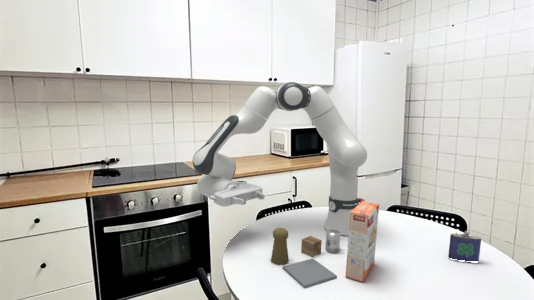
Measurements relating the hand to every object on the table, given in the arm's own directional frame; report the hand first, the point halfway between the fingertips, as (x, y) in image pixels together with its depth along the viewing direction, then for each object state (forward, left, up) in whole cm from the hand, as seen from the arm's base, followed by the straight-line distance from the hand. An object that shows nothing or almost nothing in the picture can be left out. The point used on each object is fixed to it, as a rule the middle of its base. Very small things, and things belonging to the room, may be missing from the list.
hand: (254, 199), depth 108 cm
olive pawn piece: (-4, +11, -19) cm, 22 cm away
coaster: (-8, +22, -18) cm, 30 cm away
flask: (-61, +39, -19) cm, 75 cm away
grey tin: (-25, +13, -18) cm, 34 cm away
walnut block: (-17, +11, -19) cm, 28 cm away
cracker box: (-24, +28, -19) cm, 42 cm away
